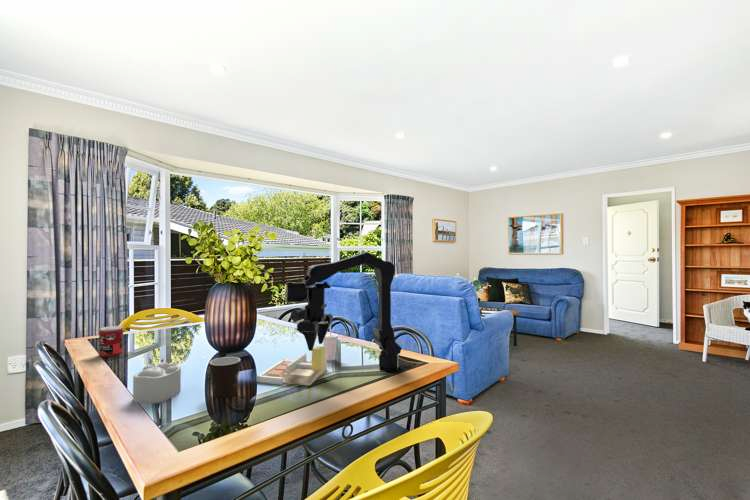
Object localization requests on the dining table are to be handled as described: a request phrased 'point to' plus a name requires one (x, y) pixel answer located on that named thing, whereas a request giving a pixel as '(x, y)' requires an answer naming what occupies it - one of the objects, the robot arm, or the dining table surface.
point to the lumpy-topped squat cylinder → (157, 383)
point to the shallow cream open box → (303, 375)
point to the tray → (269, 379)
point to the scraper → (316, 364)
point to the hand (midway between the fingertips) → (315, 347)
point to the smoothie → (330, 346)
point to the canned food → (110, 341)
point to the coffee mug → (225, 376)
